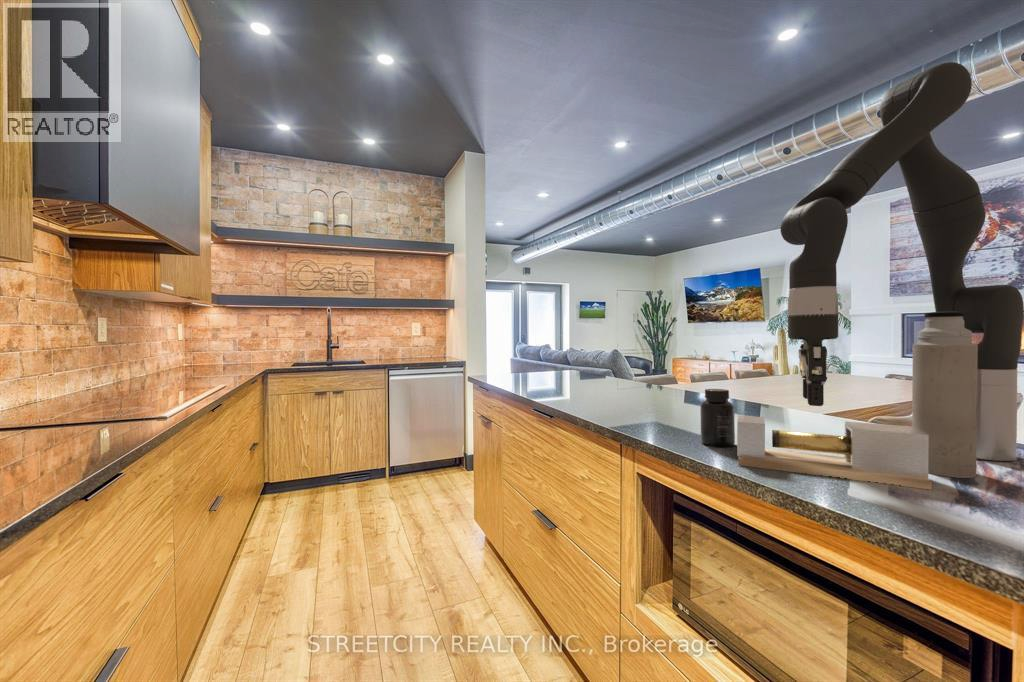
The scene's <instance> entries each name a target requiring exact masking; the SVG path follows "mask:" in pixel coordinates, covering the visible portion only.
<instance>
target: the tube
mask: <svg viewBox="0 0 1024 682" xmlns="http://www.w3.org/2000/svg"><path fill="white" fill-rule="evenodd" d="M771 433H772V434H771V441H772V443H771V447H772V448H776V449H777V448H779V449H788V450H797V451H798V450H799V451H807V452H815V453H826V454H832V455H833V454H835V455H843V456H845V455H851V437H847V436H845V435H833V434H824V433H822V434H821V433H811V432H801V431H800V432H799V431H788V430H776V429H772V431H771Z"/></svg>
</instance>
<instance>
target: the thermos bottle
mask: <svg viewBox="0 0 1024 682" xmlns="http://www.w3.org/2000/svg"><path fill="white" fill-rule="evenodd" d="M962 316H964V312H936V311H931V312H925V313H924V318H925V321H924V328H923V329H920V330H919V331H917V333H918V335H917V337H916V339H917V342H915V343H913V344H912V377H911V378H912V379H911V380H912V385H911V386H912V387H911V389H912V390H911V391H912V395H911V396H912V398H911V400H912V401H911V404H912V407H911V416H912V417H911V421H912V423H911V426H912V427H916V428H918V429H919V430H921V431H923V432H925V433H926V434H928V435H929V440H928V474H932V475H937V476H942V477H948V478H957V479H973V478H975V477H976V476H977V458H976V446H977V422H976V405H977V360H978V345H977V344H978V343H975V342H973V337H974V336H973V333H972V331H970V330H968V329H966V328H965V327H964V320H963V317H962Z"/></svg>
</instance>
